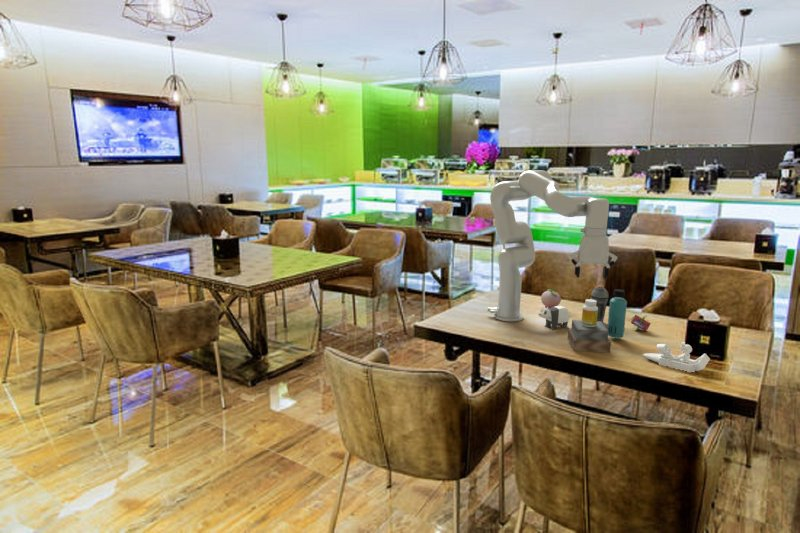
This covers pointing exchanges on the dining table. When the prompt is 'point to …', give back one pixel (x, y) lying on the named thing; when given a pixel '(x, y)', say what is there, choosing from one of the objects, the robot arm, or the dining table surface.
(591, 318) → the supplement bottle
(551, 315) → the giant panda
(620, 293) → the beverage bottle
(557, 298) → the decorative fruit
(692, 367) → the toy boat
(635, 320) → the geometric puzzle
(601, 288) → the beverage cup
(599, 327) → the mottled stone block
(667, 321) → the dining table surface
